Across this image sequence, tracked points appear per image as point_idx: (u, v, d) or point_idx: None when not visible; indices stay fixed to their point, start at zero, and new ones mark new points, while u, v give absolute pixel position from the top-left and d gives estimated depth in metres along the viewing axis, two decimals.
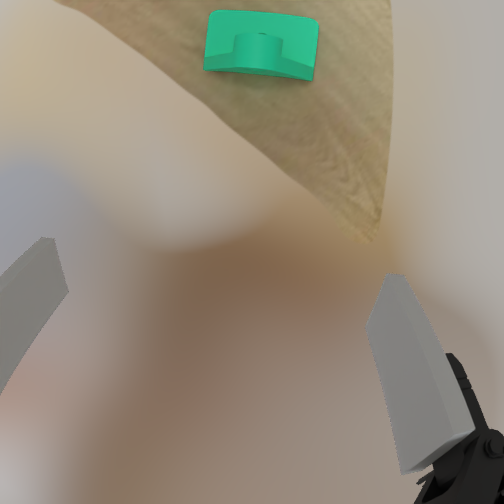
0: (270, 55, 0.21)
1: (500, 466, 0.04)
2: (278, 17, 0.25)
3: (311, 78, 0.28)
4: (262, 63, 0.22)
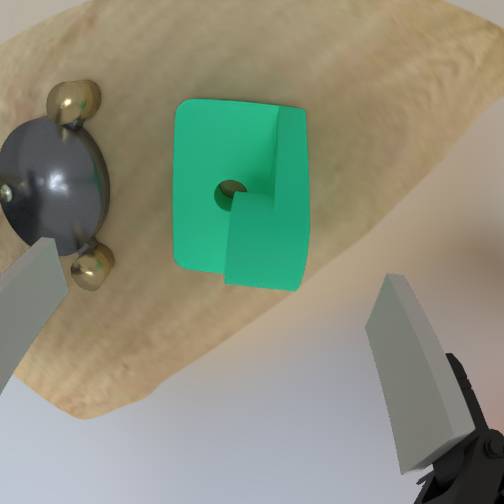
0: (274, 235, 0.12)
1: (500, 466, 0.04)
2: (180, 168, 0.18)
3: (301, 112, 0.16)
4: (294, 254, 0.12)
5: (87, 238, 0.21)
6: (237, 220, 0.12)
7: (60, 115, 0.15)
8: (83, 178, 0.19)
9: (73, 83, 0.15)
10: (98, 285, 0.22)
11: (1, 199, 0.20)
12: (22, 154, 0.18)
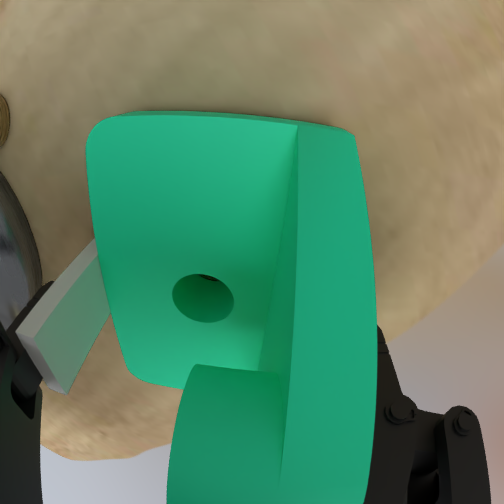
0: None
1: (411, 432, 0.05)
2: (109, 249, 0.09)
3: (347, 141, 0.07)
4: None
5: None
6: (185, 499, 0.03)
7: None
8: None
9: None
10: None
11: None
12: None
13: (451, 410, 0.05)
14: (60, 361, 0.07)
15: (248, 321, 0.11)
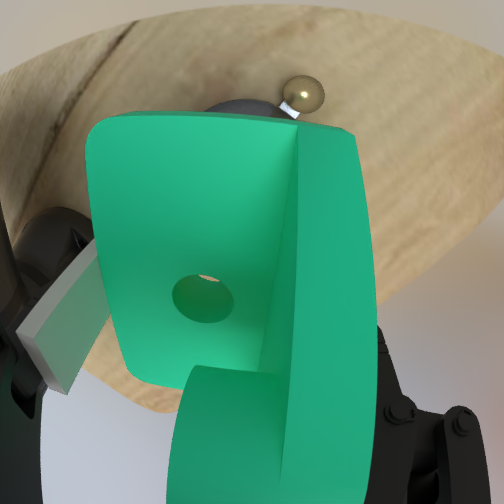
0: None
1: (411, 432, 0.05)
2: (108, 250, 0.09)
3: (347, 141, 0.07)
4: None
5: None
6: (185, 500, 0.03)
7: (301, 104, 0.20)
8: None
9: (316, 80, 0.19)
10: None
11: None
12: None
13: (451, 410, 0.05)
14: (60, 361, 0.07)
15: (247, 322, 0.11)
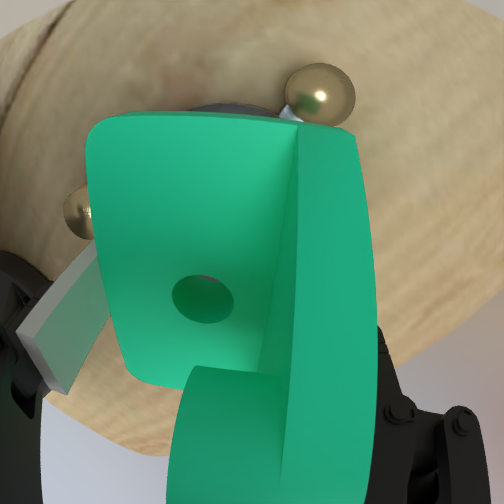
0: None
1: (411, 432, 0.05)
2: (108, 250, 0.09)
3: (348, 141, 0.07)
4: None
5: None
6: (185, 501, 0.03)
7: (316, 112, 0.12)
8: None
9: None
10: None
11: None
12: None
13: (451, 410, 0.05)
14: (60, 361, 0.07)
15: (248, 322, 0.11)
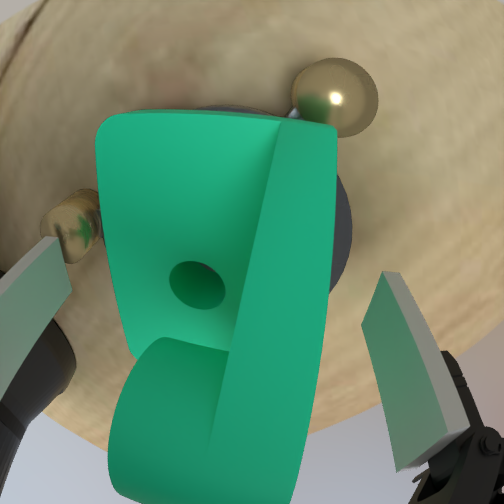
0: (205, 496, 0.04)
1: (496, 464, 0.04)
2: (114, 234, 0.10)
3: (328, 136, 0.07)
4: None
5: None
6: (123, 450, 0.04)
7: (331, 118, 0.10)
8: None
9: None
10: None
11: None
12: None
13: None
14: None
15: (239, 311, 0.11)
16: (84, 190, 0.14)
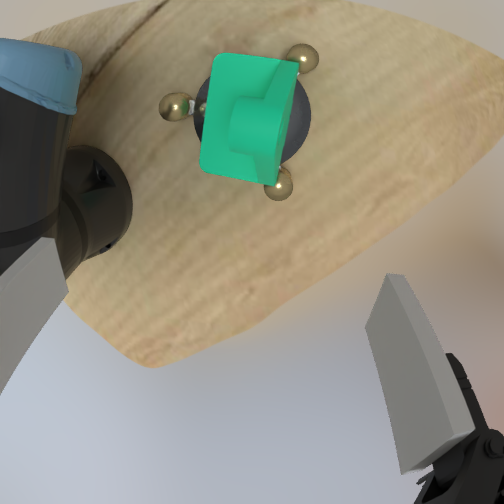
0: (260, 112, 0.18)
1: (500, 466, 0.04)
2: (212, 96, 0.25)
3: (295, 63, 0.22)
4: (271, 123, 0.18)
5: (287, 158, 0.30)
6: (240, 103, 0.19)
7: (300, 65, 0.24)
8: (301, 113, 0.28)
9: (312, 48, 0.24)
10: (288, 195, 0.31)
11: (196, 114, 0.28)
12: None
13: None
14: None
15: None
16: None
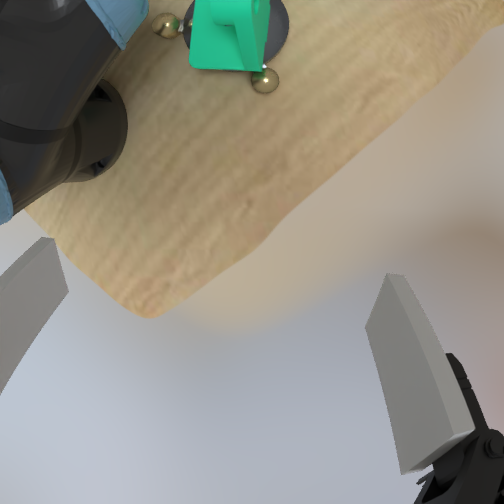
0: None
1: (500, 466, 0.04)
2: (199, 5, 0.23)
3: None
4: None
5: (271, 56, 0.28)
6: None
7: None
8: (279, 18, 0.26)
9: None
10: (275, 87, 0.29)
11: (186, 28, 0.27)
12: None
13: None
14: None
15: None
16: None
